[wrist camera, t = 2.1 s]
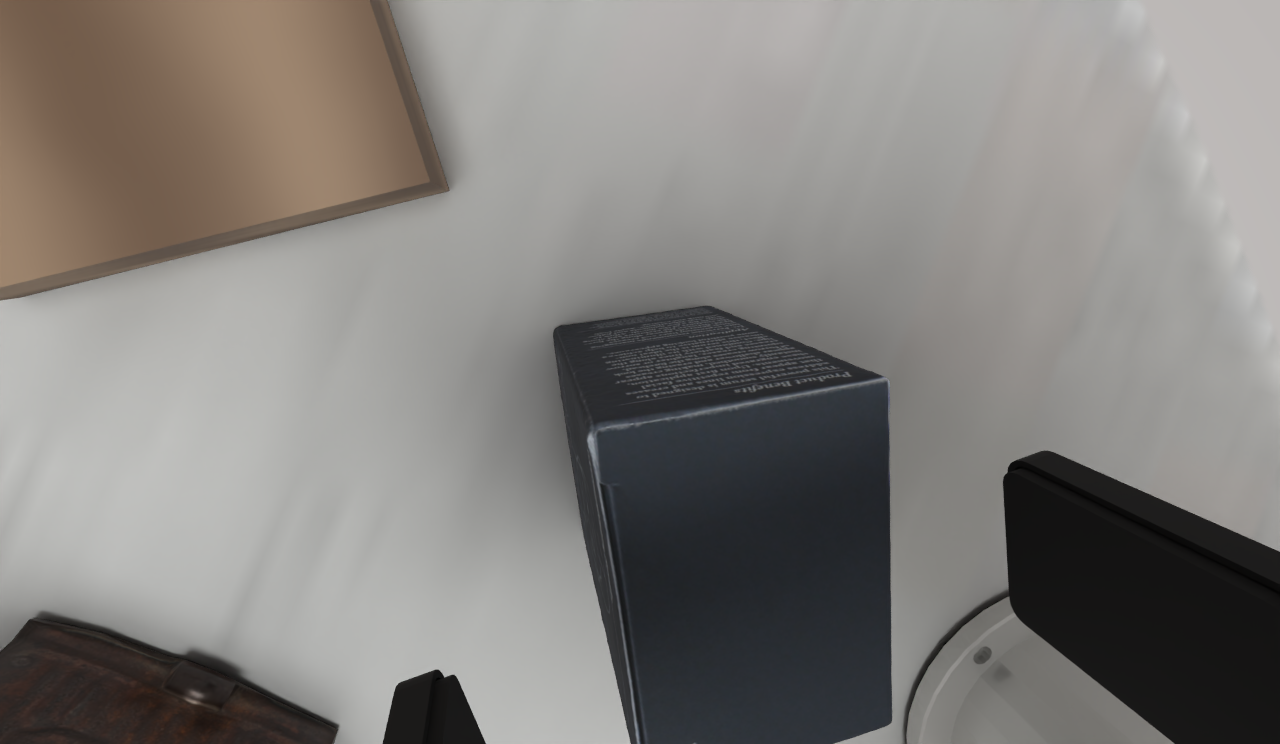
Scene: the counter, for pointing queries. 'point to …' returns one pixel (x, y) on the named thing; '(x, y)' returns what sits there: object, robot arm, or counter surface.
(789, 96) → the counter surface
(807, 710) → the box
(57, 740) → the antique coffee grinder
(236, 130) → the base
